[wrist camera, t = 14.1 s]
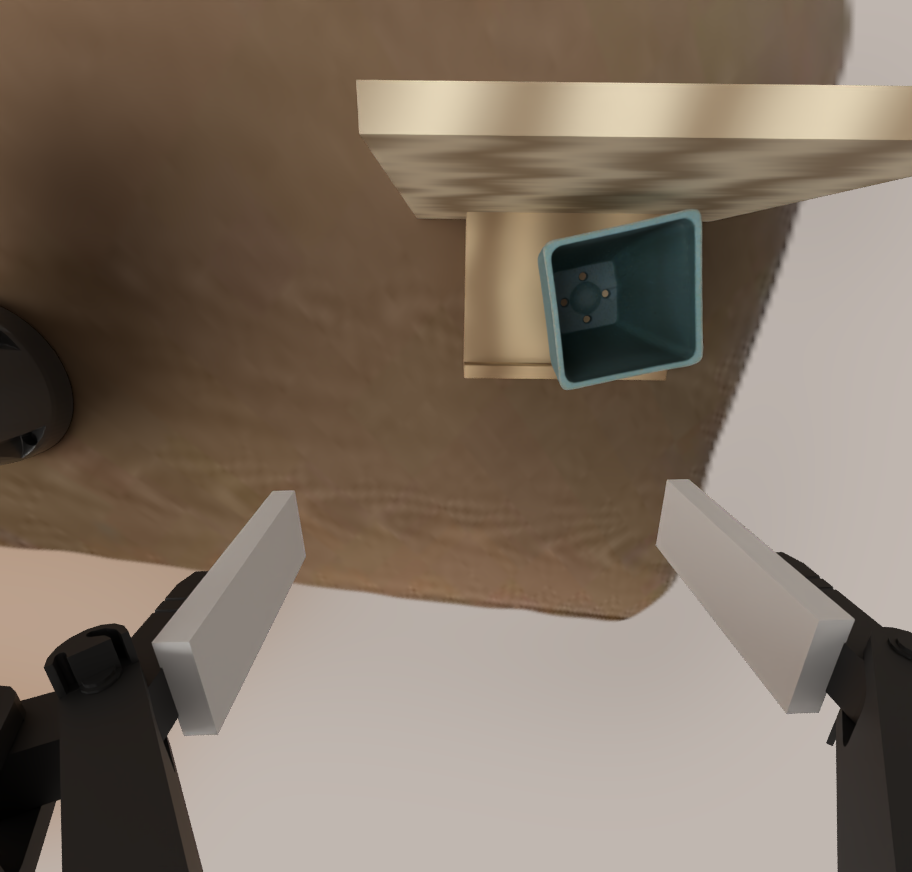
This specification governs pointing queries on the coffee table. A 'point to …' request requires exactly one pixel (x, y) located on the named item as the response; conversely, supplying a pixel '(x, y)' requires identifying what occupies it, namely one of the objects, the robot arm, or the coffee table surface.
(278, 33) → the coffee table surface
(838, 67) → the coffee table surface
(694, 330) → the flower pot
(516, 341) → the board
